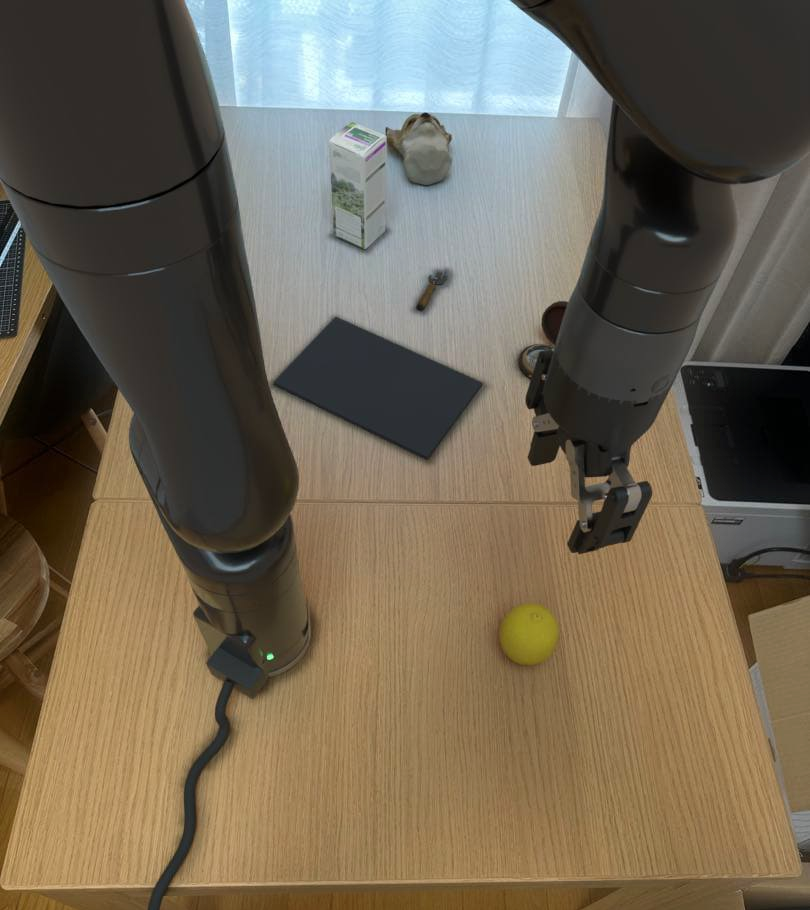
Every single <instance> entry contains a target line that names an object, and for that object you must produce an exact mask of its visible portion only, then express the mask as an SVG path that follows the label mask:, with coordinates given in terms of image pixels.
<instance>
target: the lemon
mask: <svg viewBox="0 0 810 910" xmlns="http://www.w3.org/2000/svg"><path fill="white" fill-rule="evenodd" d="M559 630H560V629H559V624H558V620H557V618H556V616H555V615H554V613H553V612H552V611H551V610H550V608H548V607H546V606H544V605H543V604H540V603H536V602H525V603H522V604H519V605H517V606H515V607H514V608H513V609H511V610H510V611H509V612H508V613H507V614H506V616H505V617H504V618H503V620H502V623H501V625H500V628H499V641H500V647H501V649H502V651H503V652H504V654H505V655H506V656H507V657H508V659H510V660H511V661H512V662H514V663H516V664H519V665H522V666H535V665H539V664H541V663H543V662H544V661H546V660H547V659H549V657H550V656H551V655H552V654H553V653H554V652H555V650H556V648H557V646H558V642H559V636H560V631H559Z"/></svg>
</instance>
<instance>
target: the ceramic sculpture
mask: <svg viewBox="0 0 810 910" xmlns="http://www.w3.org/2000/svg"><path fill="white" fill-rule="evenodd" d="M384 135H386V137H387V147H389V149H391V150H392V151H394V152H395V153H396V154H399V155H400V156H402V157H403V168H404V171H405V173H406V175H407V177H408V178H409V180H410V181H412V183H415V184H420V185H424V186H431V185H433V184H435V183H438V182H440V181H442V180H444V179H445V177H446V176H447V175H448V174H449V171H450V170H451V166H452V163H453V157H452V155H451V153H450V152H449V144H450V143H451V142H452V140H453V138H452V136H453V135H452V134H451V133H449V132H447V131H446V128H445V126H444V124H442V125H441V122H440V120H439V119H438V118H437V117H436V116H435V115H433V114H431V113H428V112H426V111H425V112H423V113H413V114H411V115H409V116H408V117H407V118H406V119H405V120H404V122H403V125H402V127H401V129H392V128H390V127H388V126H385V134H384Z"/></svg>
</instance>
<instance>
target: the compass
mask: <svg viewBox="0 0 810 910" xmlns="http://www.w3.org/2000/svg"><path fill="white" fill-rule="evenodd" d="M568 302H569V301H566V300H558V301H554V302H553V303H551V304H550V305H549V306H548V307H546V309H545V310H544V312H543V313H542V316H541V328H542V329H541V330H542V332H543V334H544V335H545V337H546V339H547V340H548V341H549V342H550V343H551V345H549V344H545V343H536V344H532V345H528V346H526V347H525V348H524V349H523V350H522V351H521V353H520V355H519V357H518V366H519V368H520V370H521V371H522V373H523V374H524V375H525V376H527V377H528V378H530V379H531V378H532V374H533V371H534V368H535V365H536V361H537V358H538V355H539V352H540V351H544V350H550V349H554V348H555V345H556V341H557V338H558V334H559V331H560V327H561V324H562V320H563V317H564V313H565V310H566V307H567V304H568Z"/></svg>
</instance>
